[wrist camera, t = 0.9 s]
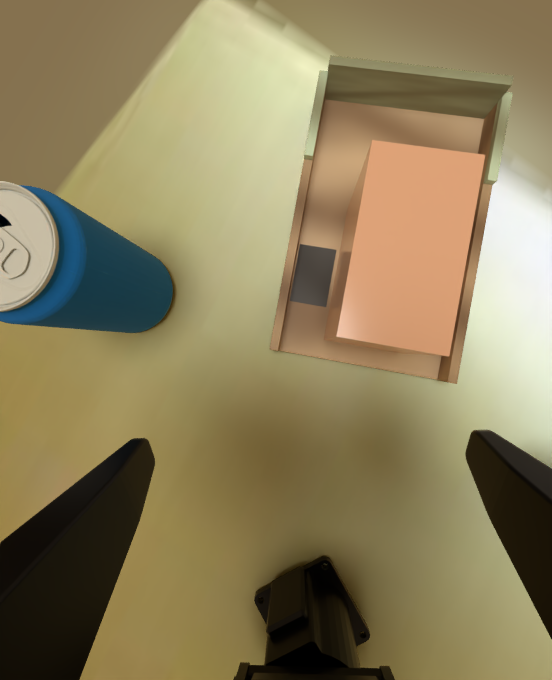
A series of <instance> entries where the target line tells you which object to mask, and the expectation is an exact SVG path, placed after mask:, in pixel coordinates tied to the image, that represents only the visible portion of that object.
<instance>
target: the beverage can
mask: <svg viewBox="0 0 552 680" xmlns="http://www.w3.org/2000/svg"><path fill="white" fill-rule="evenodd" d="M172 295H173V286H172V281H171V277H170V275H169V272H168V271H167V269H166V267H165V266H164V265H163V263H162V262H161V261H160V260H159V259H157V258H156V257H155V256H153V255H151V254H150V253H148V252H147V251H145V250H143V249H142V248H140V247H138V246H137V245H135V244H134V243H132V242H130V241H129V240H127V239H126V238H124V237H122V236H121V235H119V234H117V233H116V232H114V231H113V230H111V229H109V228H108V227H106V226H105V225H103V224H101V223H100V222H98V221H97V220H95V219H93V218H92V217H90V216H88V215H87V214H85V213H84V212H82V211H80V210H79V209H77V208H76V207H74V206H72V205H71V204H69V203H68V202H66V201H64V200H63V199H61V198H59V197H58V196H56V195H54V194H52V193H51V192H49V191H46V190H43V189H40V188H36V187H32V186H22V185H16V184H13V183H9V182H5V181H0V321H2V322H6V323H11V324H21V325H34V326H47V327H60V328H73V329H86V330H99V331H112V332H125V333H137V332H142V331H145V330H148V329H150V328H152V327H153V326H155V325H156V324H157V323H159V322H160V321H161V320H162V319H163V317H164V316H165V315H166V313H167V311H168V309H169V307H170V304H171V301H172Z"/></svg>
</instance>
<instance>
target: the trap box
mask: <svg viewBox="0 0 552 680" xmlns="http://www.w3.org/2000/svg"><path fill="white" fill-rule="evenodd" d="M512 81H513V76H509V75H500V74H491V73H482V72H474V71H465V70H455V69H447V68H438V67H429V66H420V65H412V64H402V63H393V62H385V61H376V60H367V59H358V58H349V57H341V56H332V55H330V60H329V67H328V71H320V72H319V78H318V83H317V89H316V94H315V100H314V105H313V111H312V116H311V121H310V127H309V132H308V138H307V143H306V149H305V154H304V163H303V169H302V174H301V180H300V185H299V191H298V196H297V202H296V207H295V213H294V218H293V224H292V229H291V235H290V240H289V245H288V251H287V256H286V262H285V267H284V273H283V278H282V284H281V289H280V295H279V300H278V306H277V311H276V317H275V322H274V328H273V333H272V339H271V344H270V349H271V350H276V351H285V352H290V353H296V354H301V355H306V356H312V357H317V358H323V359H328V360H334V361H339V362H344V363H350V364H355V365H361V366H366V367H372V368H377V369H382V370H388V371H393V372H399V373H404V374H409V375H415V376H420V377H426V378H431V379H437V380H441V381H445V382H450V383H455V384H457V379H458V374H459V368H460V363H461V357H462V351H463V346H464V340H465V335H466V329H467V323H468V318H469V312H470V307H471V301H472V296H473V290H474V284H475V279H476V273H477V268H478V262H479V256H480V251H481V245H482V240H483V234H484V228H485V223H486V217H487V212H488V206H489V201H490V195H491V189H492V185H493V184H494V183H495V182H496V181H497V178H498V172H499V167H500V161H501V156H502V150H503V144H504V139H505V133H506V128H507V122H508V116H509V111H510V105H511V99H512V93H509V92H507V90H508V89H509V88H510V87H511V85H512ZM372 140H376V141H384V142H391V143H399V144H407V145H414V146H422V147H429V148H437V149H445V150H452V151H460V152H468V153H475V154H483V155H485V160H484V165H483V171H482V176H481V182H480V187H479V193H478V199H477V204H476V210H475V215H474V221H473V227H472V232H471V238H470V243H469V249H468V254H467V260H466V266H465V271H464V277H463V282H462V288H461V293H460V299H459V305H458V310H457V316H456V321H455V327H454V333H453V338H452V344H451V349H450V355H449V357H448V356H434V355H420V354H406V353H395V352H389V351H384V350H378V349H373V348H367V347H362V346H356V345H351V344H345V343H339V342H334V341H328V340H324V335H325V329H326V324H327V318H328V313H329V307H330V302H331V296H332V291H333V285H334V280H335V274H336V269H337V263H338V258H339V252H340V247H341V241H342V236H343V230H344V225H345V219H346V214H347V209H348V206H349V203H350V200H351V198H352V195H353V192H354V189H355V186H356V184H357V181H358V178H359V175H360V173H361V170H362V167H363V164H364V161H365V159H366V156H367V153H368V150H369V147H370V145H371V142H372Z"/></svg>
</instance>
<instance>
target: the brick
mask: <svg viewBox="0 0 552 680" xmlns="http://www.w3.org/2000/svg"><path fill="white" fill-rule="evenodd" d="M484 160H485V155H483V154H475V153H468V152H460V151H452V150H445V149H437V148H429V147H422V146H414V145H407V144H399V143H391V142H384V141H376V140H372V142H371V145H370V147H369V150H368V153H367V156H366V159H365V161H364V164H363V167H362V170H361V173H360V175H359V178H358V181H357V184H356V186H355V189H354V192H353V195H352V198H351V200H350V203H349V206H348V209H347V214H346V219H345V225H344V230H343V236H342V241H341V247H340V252H339V258H338V263H337V269H336V274H335V280H334V285H333V291H332V296H331V302H330V307H329V313H328V318H327V324H326V329H325V335H324V340H328V341H334V342H339V343H345V344H351V345H356V346H362V347H367V348H373V349H378V350H384V351H389V352H395V353H406V354H420V355H434V356H448V357H449V355H450V349H451V344H452V338H453V333H454V327H455V321H456V316H457V310H458V305H459V299H460V293H461V288H462V282H463V277H464V271H465V266H466V260H467V254H468V249H469V243H470V238H471V232H472V227H473V221H474V215H475V210H476V204H477V199H478V193H479V187H480V182H481V176H482V171H483V165H484Z"/></svg>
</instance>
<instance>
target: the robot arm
mask: <svg viewBox="0 0 552 680" xmlns="http://www.w3.org/2000/svg"><path fill="white" fill-rule="evenodd" d="M466 460H467V463H468V465H469V468H470V470H471V473H472V476H473V478H474V481H475V483H476V486H477V488H478V491H479V493H480V496H481V498H482V501H483V503H484V506H485V509H486V511H487V513H488V516H489V518H490V520H491V522H492V524H493V526H494V528H495V530H496V532H497V534H498V536H499V538H500V540H501V542H502V544H503V546H504V548H505V550H506V551H507V553H508V555H509V557H510V559H511V561H512V563H513V565H514V567H515V569H516V571H517V573H518V575H519V577H520V579H521V581H522V583H523V585H524V587H525V588H526V590H527V592H528V594H529V596H530V598H531V600H532V602H533V604H534V606H535V608H536V610H537V612H538V614H539V616H540V618H541V620H542V622H543V624H544V625H545V627H546V629H547V631H548V633H549V635H550V637H551V639H552V469H551V468H550V467H548V466H547V465H545V464H543V463H542V462H540V461H539V460H537V459H536V458H534V457H532V456H531V455H529V454H528V453H526V452H524V451H523V450H521V449H520V448H518V447H516V446H515V445H513V444H512V443H510V442H509V441H507V440H505V439H504V438H502V437H501V436H499V435H497V434H496V433H494V432H492V431H490V430H474V431H473V432H472V433H471V435H470V439H469V442H468V445H467V449H466ZM154 466H155V458H154V455H153V452H152V449H151V446H150V444H149V441H148V440H147V439H145V438H134V439H131V440H130V441H128V442H127V443H126V444H125V445H123V446H122V447H121V448H119V449H118V450H117V451H116V452H114V453H113V454H112V455H111V456H109V457H108V458H107V459H106V460H104V461H103V462H102V463H100V464H99V465H98V466H97V467H95V468H94V469H93V470H92V471H90V472H89V473H88V474H86V475H85V476H84V477H83V478H81V479H80V480H79V481H78V482H76V483H75V484H74V485H73V486H71V487H70V488H69V489H67V490H66V491H65V492H64V493H62V494H61V495H60V496H59V497H57V498H56V499H55V500H53V501H52V502H51V503H50V504H48V505H47V506H46V507H45V508H43V509H42V510H41V511H39V512H38V513H37V514H36V515H34V516H33V517H32V518H31V519H29V520H28V521H27V522H26V523H24V524H23V525H22V526H20V527H19V528H18V529H17V530H15V531H14V532H13V533H12V534H10V535H9V536H8V537H6V538H5V539H4V540H3V541H2V542H1V543H0V680H79V679H80V677H81V674H82V671H83V669H84V666H85V663H86V661H87V658H88V656H89V653H90V650H91V648H92V645H93V642H94V640H95V637H96V634H97V632H98V629H99V627H100V624H101V621H102V619H103V616H104V613H105V611H106V608H107V606H108V603H109V600H110V598H111V595H112V592H113V590H114V587H115V584H116V582H117V579H118V577H119V574H120V571H121V569H122V566H123V563H124V561H125V558H126V555H127V553H128V550H129V548H130V545H131V542H132V540H133V537H134V534H135V532H136V529H137V526H138V524H139V521H140V518H141V514H142V511H143V507H144V504H145V500H146V496H147V492H148V489H149V485H150V481H151V478H152V474H153V470H154ZM324 563H326V564H328V565H327V566H323V564H324ZM259 597H263V598H264V599H262V600H261V599H259ZM254 601H255V604H256V606H257V608H258V610H259V611H260V613H261V615H262V617H263V619H264V621H265V623H266V624H267V627H266V632H267V634H268V635H267V644H266V653H265V663H264V665H250V663H244V662H241V663H240V666H239V669H238V672H237V675H236V676H235V677H234V680H395V679H394V676H393V674H392V672H391V669H390V667H389V666H380V669H379V668H360V664H359V658H358V653H357V648H356V646H358V645H360V644H362V643H364V642H366V641H367V640H369V638H370V633H369V629H368V626H367V625H366V623H365V621H364V619H363V617H362V616H361V614H360V612H359V610H358V608H357V607H356V605H355V603H354V601H353V599H352V598H351V596H350V594H349V592H348V590H347V589H346V587H345V585H344V583H343V581H342V580H341V578H340V576H339V574H338V572H337V571H336V569H335V567H334V565H333V563H332V562H331V560H330V559H329V558H328V557H325V556H324V557H321V558H319V559H317V560H315V561H313V562H311V563H309V564H307V565H305V566H304V567H298V568H297V569H295V570H293V571H291V572H289V573H287V574H285V575H283V576H281V577H279V578H277V579H276V580H274V581H273V582H272V583H271V584H269V585H267V586H265V587H264V588H262V589H260V590H258V591H257V592H256V594H255V600H254ZM362 631H363V632H364V633H360V632H362Z"/></svg>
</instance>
